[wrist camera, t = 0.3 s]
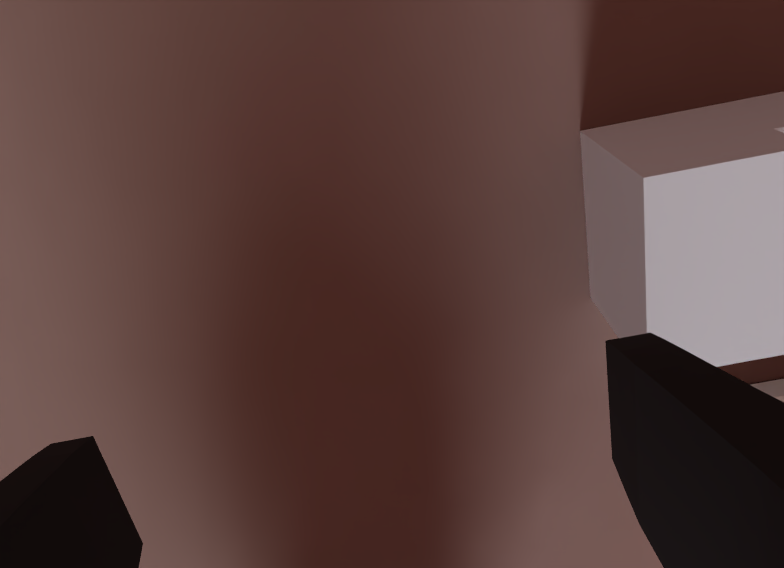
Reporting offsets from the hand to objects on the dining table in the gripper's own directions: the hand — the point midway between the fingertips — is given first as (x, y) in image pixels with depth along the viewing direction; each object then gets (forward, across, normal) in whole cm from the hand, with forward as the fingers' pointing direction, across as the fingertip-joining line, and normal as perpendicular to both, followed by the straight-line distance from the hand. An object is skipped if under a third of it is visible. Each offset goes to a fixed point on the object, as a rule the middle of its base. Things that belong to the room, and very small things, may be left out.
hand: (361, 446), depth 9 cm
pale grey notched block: (+10, -10, +1) cm, 14 cm away
